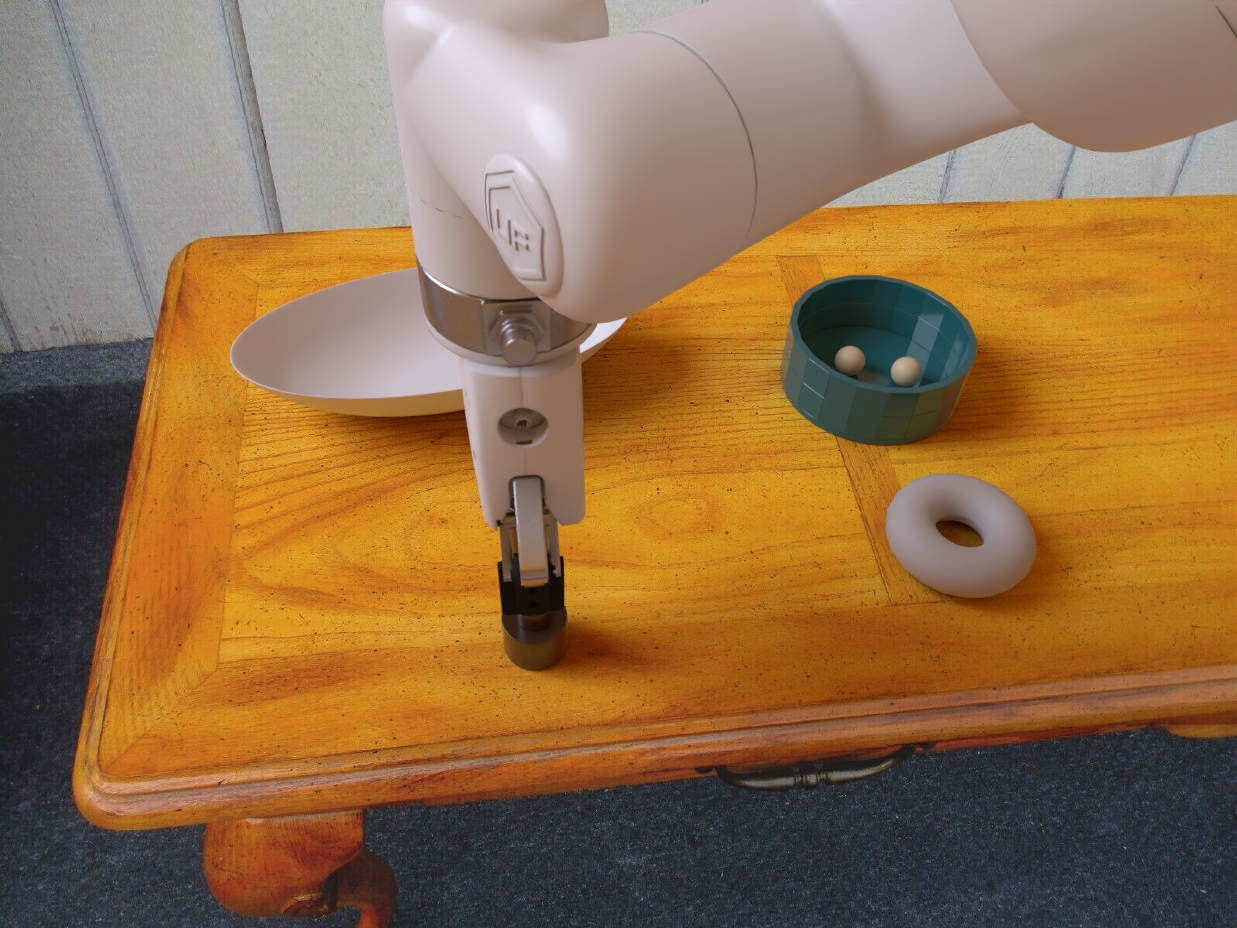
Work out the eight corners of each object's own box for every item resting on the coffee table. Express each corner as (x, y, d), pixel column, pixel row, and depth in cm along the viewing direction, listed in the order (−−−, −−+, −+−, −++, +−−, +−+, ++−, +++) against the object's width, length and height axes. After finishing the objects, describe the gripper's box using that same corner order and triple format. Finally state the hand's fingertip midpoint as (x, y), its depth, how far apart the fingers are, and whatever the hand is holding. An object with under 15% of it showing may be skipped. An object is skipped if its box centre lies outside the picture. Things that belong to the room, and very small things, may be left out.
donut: (850, 527, 67) (950, 631, 61) (860, 495, 65) (965, 600, 59) (954, 477, 71) (1058, 571, 65) (967, 444, 68) (1077, 538, 62)
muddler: (580, 648, 60) (580, 503, 50) (527, 682, 58) (516, 540, 48) (543, 605, 62) (536, 458, 52) (491, 637, 60) (473, 492, 50)
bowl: (603, 300, 84) (605, 241, 79) (653, 415, 74) (658, 356, 70) (249, 353, 78) (229, 293, 73) (253, 487, 68) (230, 426, 64)
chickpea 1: (867, 374, 77) (874, 351, 76) (847, 386, 76) (853, 363, 75) (845, 358, 79) (851, 335, 77) (825, 370, 78) (831, 347, 76)
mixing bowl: (992, 395, 77) (1015, 342, 73) (874, 473, 71) (892, 420, 67) (860, 306, 84) (874, 254, 80) (743, 370, 78) (752, 317, 74)
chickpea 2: (924, 385, 77) (932, 362, 75) (904, 397, 76) (912, 374, 74) (901, 369, 78) (908, 346, 76) (881, 380, 77) (888, 358, 75)
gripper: (631, 420, 34) (615, 665, 47) (577, 166, 46) (576, 418, 58) (420, 436, 33) (461, 681, 46) (419, 173, 45) (452, 427, 58)
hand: (525, 534), depth 52 cm, fingers open, 9 cm apart
